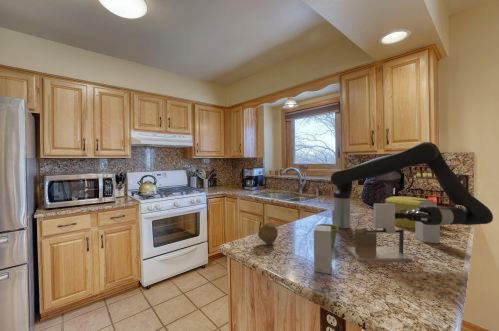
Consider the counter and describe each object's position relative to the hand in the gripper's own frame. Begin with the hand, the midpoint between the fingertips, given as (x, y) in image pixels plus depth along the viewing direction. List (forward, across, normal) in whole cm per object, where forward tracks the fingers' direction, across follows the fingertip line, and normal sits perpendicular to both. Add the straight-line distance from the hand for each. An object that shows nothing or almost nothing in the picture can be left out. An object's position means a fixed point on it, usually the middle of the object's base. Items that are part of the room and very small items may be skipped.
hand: (393, 215), depth 94 cm
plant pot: (+24, +10, -17) cm, 31 cm away
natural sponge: (+51, +11, -17) cm, 55 cm away
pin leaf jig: (+7, 0, -16) cm, 18 cm away
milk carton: (-27, +17, -17) cm, 36 cm away
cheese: (-40, +48, -17) cm, 65 cm away
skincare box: (+33, -12, -17) cm, 39 cm away
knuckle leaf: (+4, 0, -7) cm, 8 cm away
